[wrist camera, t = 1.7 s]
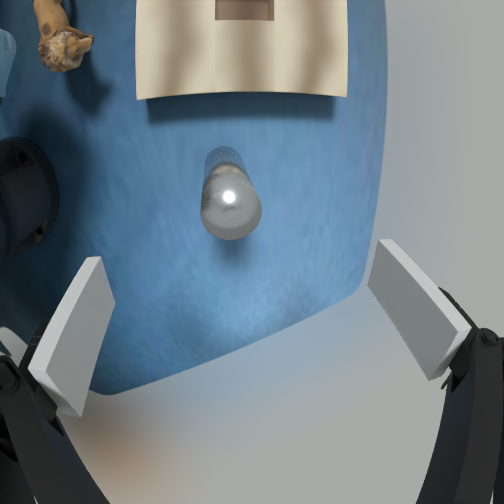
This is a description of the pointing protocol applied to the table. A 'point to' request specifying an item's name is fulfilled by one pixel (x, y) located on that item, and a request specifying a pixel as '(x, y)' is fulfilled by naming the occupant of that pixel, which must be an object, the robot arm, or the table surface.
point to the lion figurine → (59, 37)
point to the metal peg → (228, 196)
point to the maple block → (241, 47)
